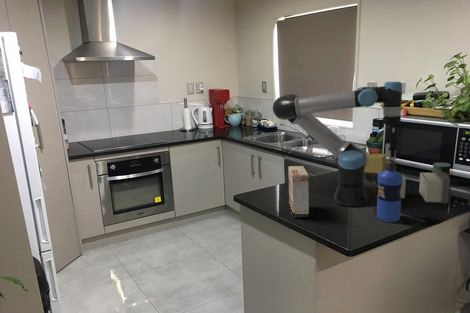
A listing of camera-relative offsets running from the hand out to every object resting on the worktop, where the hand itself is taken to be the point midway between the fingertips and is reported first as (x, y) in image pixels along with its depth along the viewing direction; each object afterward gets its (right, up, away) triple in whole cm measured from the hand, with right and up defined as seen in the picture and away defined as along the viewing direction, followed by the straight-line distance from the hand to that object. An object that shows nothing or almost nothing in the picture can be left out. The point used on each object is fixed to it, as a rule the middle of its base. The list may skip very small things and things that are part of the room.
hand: (390, 160), depth 176 cm
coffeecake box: (-46, -23, -11) cm, 53 cm away
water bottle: (-10, -24, -23) cm, 35 cm away
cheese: (+10, -7, +46) cm, 48 cm away
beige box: (+3, -17, +3) cm, 18 cm away
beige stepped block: (+20, -17, -2) cm, 26 cm away
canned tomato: (+32, -13, +15) cm, 38 cm away
